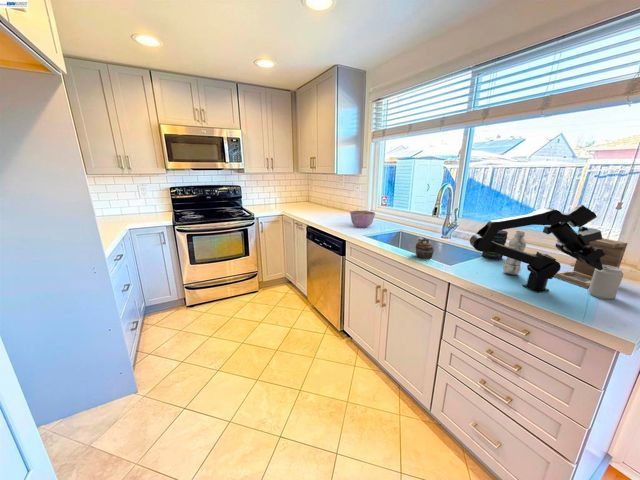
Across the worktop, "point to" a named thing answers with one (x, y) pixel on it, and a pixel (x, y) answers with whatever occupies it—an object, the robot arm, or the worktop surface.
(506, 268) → the plastic bottle
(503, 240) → the storage jar
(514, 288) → the worktop surface
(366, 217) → the bowl of food
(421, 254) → the cupcake
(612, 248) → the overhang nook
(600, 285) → the can
